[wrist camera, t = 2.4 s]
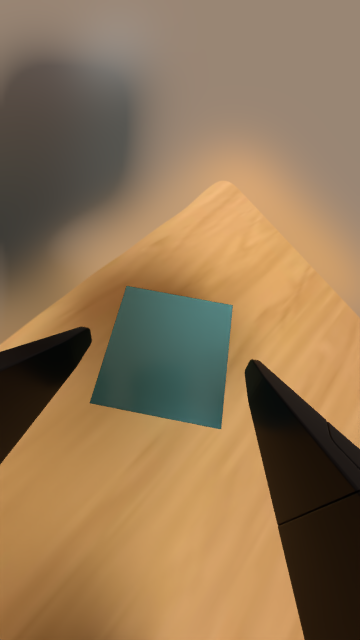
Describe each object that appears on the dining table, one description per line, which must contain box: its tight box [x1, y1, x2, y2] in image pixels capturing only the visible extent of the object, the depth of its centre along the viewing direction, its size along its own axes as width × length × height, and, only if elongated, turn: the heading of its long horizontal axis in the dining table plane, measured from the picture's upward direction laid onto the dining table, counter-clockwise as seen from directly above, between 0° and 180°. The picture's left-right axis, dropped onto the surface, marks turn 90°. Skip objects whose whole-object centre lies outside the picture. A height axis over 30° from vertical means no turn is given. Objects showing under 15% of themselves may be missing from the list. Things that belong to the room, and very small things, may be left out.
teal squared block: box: [90, 286, 233, 429], centre depth 13 cm, size 7×7×10 cm
